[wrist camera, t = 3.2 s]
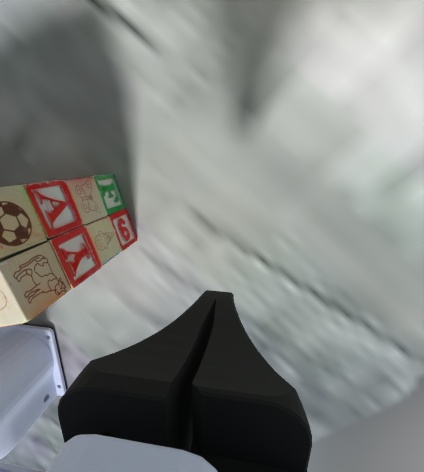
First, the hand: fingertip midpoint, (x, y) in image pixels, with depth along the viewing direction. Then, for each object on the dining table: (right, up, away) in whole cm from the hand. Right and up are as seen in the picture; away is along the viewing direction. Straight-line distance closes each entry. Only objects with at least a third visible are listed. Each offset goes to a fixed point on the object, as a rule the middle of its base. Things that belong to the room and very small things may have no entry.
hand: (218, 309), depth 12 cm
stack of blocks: (-18, +4, +12) cm, 22 cm away
